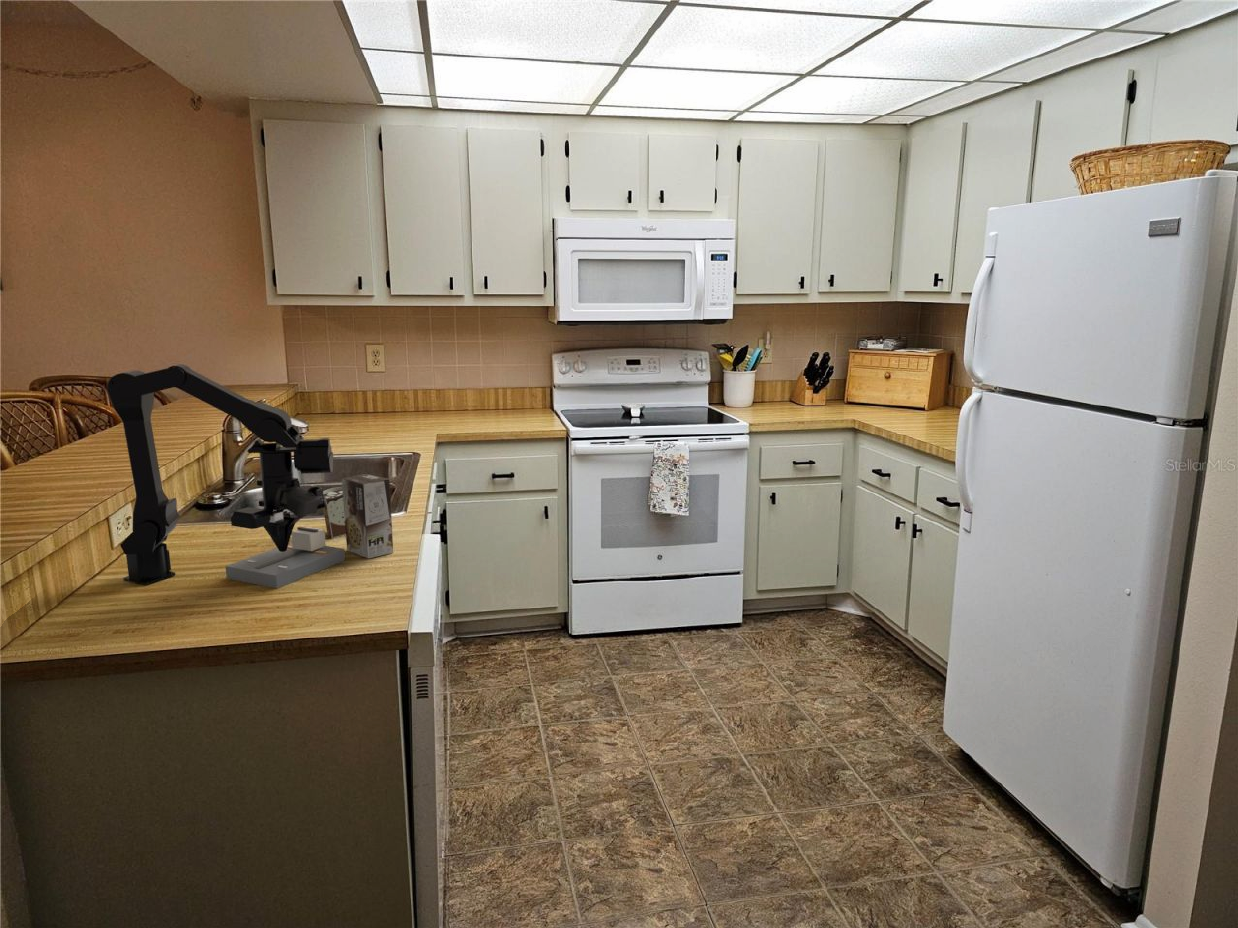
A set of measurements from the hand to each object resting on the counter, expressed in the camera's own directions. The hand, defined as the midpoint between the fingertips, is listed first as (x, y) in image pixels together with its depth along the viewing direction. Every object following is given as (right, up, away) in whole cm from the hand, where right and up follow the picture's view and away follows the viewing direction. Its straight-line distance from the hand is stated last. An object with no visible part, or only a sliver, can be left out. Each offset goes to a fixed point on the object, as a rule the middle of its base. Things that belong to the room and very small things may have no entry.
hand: (283, 551), depth 160 cm
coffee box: (+13, -2, +13) cm, 19 cm away
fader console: (0, -4, +1) cm, 4 cm away
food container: (+2, +1, +27) cm, 28 cm away
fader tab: (+3, 0, +6) cm, 7 cm away
